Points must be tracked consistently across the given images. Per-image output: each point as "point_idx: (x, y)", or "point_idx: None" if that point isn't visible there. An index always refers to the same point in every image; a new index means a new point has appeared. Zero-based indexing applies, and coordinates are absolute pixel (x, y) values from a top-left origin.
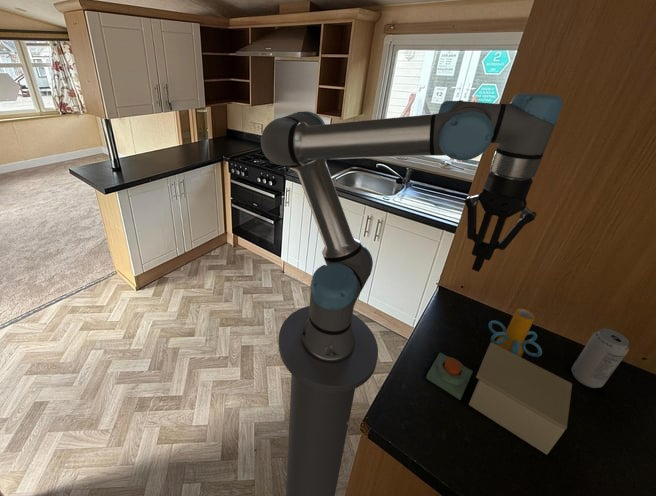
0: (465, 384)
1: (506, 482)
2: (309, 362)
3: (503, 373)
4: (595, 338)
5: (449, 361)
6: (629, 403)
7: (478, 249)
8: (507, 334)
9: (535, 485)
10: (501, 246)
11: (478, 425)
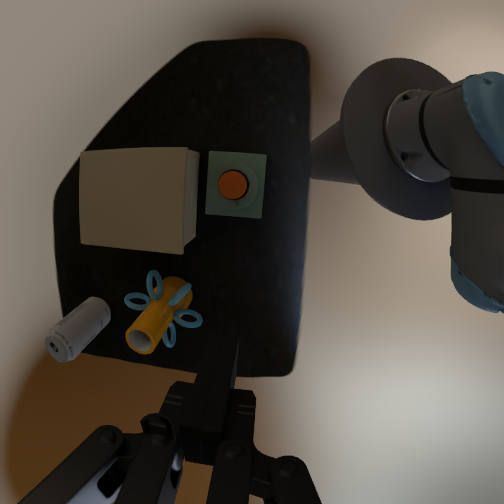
0: (209, 177)
1: (148, 86)
2: (418, 83)
3: (151, 187)
4: (71, 341)
5: (239, 186)
6: (69, 297)
7: (227, 418)
8: (169, 306)
9: (124, 107)
10: (107, 441)
11: (183, 130)
